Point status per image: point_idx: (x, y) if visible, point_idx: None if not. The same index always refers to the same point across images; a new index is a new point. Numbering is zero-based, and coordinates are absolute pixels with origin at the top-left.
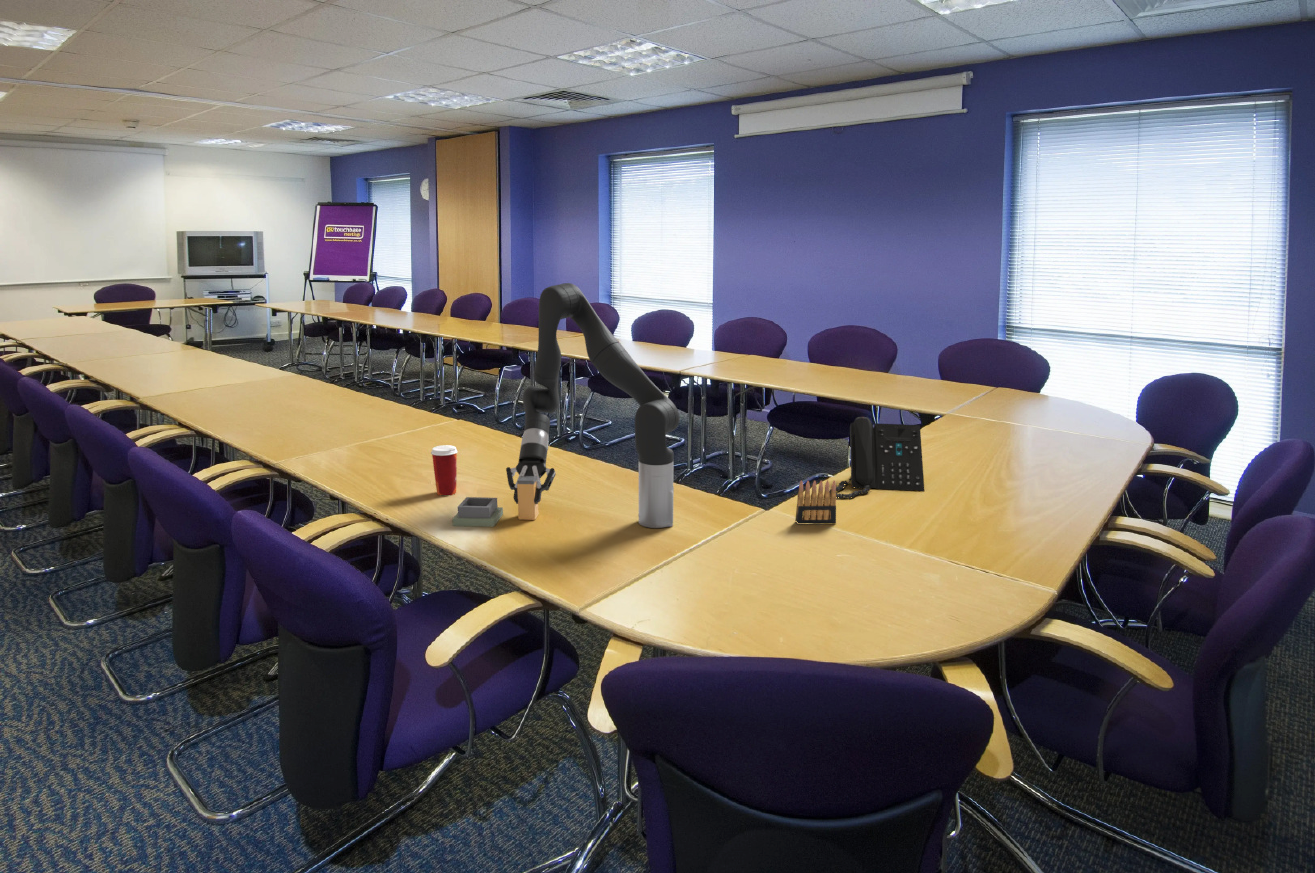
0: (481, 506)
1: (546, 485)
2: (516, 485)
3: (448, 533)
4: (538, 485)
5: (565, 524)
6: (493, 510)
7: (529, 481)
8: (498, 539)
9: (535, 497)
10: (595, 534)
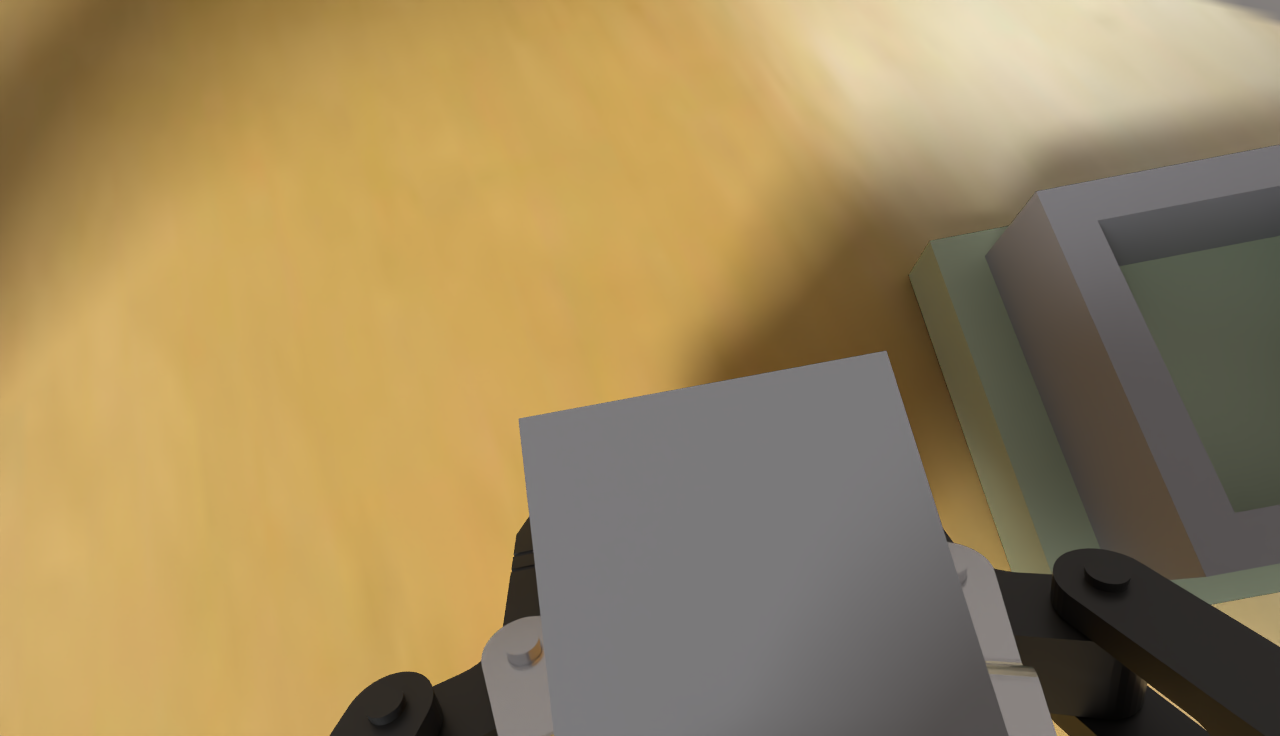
0: (1149, 199)
1: (371, 694)
2: (958, 566)
3: (1169, 59)
4: (524, 649)
5: (301, 492)
6: (1058, 392)
7: (615, 409)
8: (726, 61)
9: None
10: (30, 330)
